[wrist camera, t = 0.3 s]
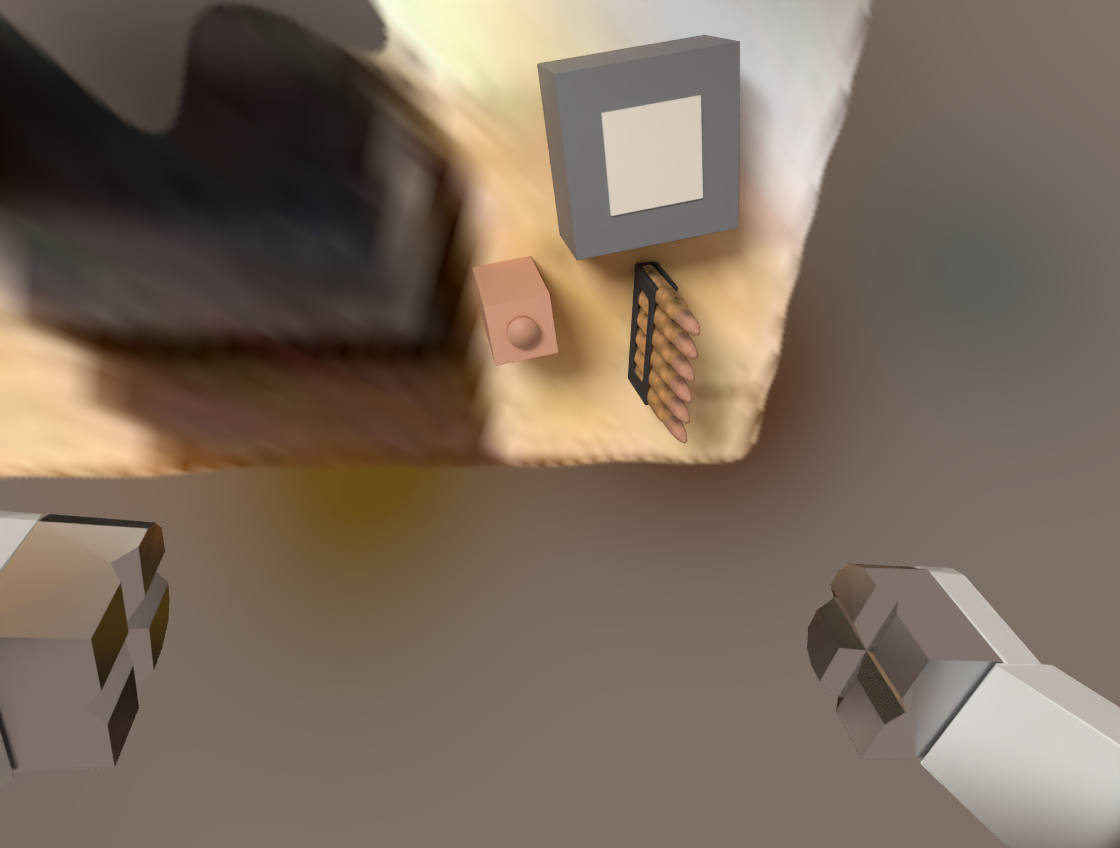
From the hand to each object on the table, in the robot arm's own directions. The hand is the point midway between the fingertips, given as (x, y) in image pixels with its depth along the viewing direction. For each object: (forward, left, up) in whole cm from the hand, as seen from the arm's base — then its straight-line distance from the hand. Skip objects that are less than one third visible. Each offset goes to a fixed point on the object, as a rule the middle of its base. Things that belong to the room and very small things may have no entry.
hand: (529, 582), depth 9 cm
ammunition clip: (+16, +19, -48) cm, 54 cm away
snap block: (+14, +8, -48) cm, 50 cm away
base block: (+2, +16, -47) cm, 50 cm away
